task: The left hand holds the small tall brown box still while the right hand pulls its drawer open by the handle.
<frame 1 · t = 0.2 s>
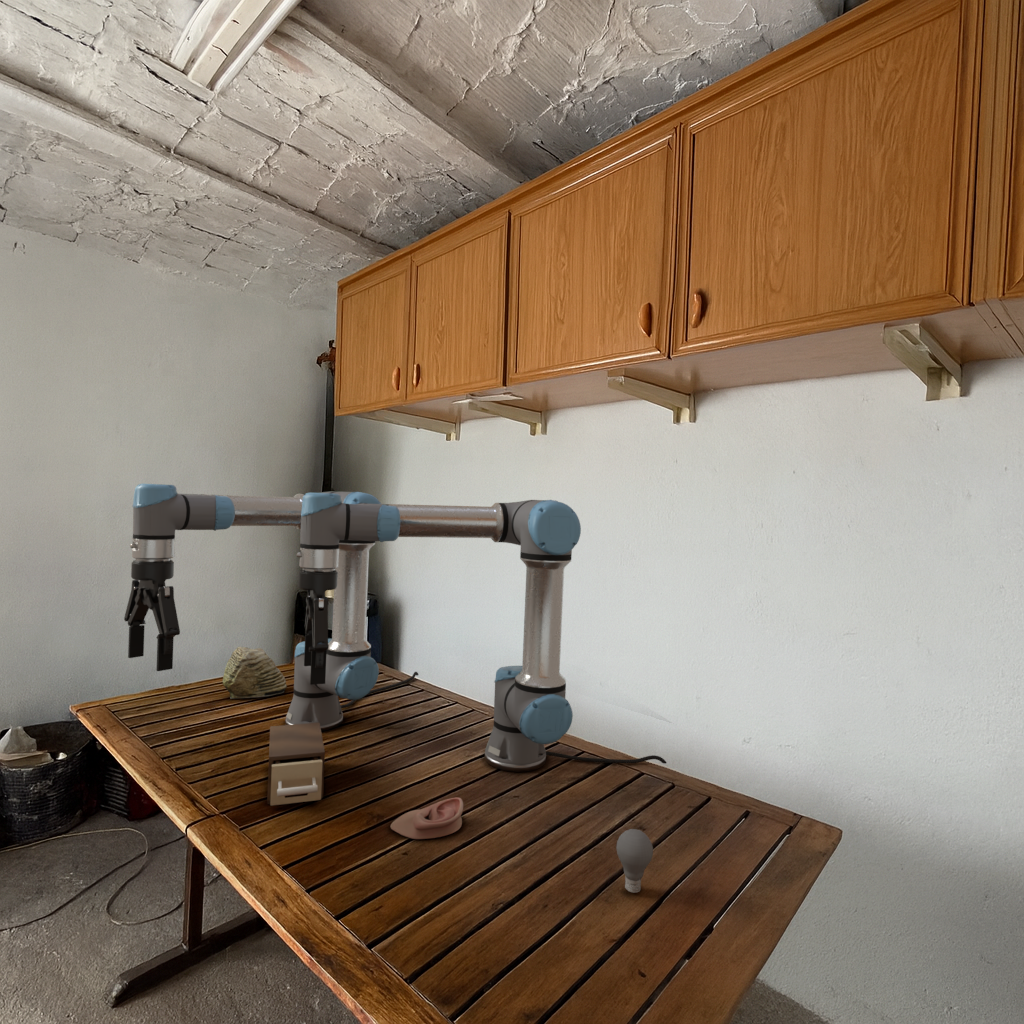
left hand: (149, 663, 129), 28 cm above the table, tool pointing down, fingers open, 13 cm apart
right hand: (314, 674, 128), 28 cm above the table, tool pointing down, fingers open, 13 cm apart
fossil: (254, 694, 198), on the table
drawer: (296, 771, 134), point 5 cm above the table, slide at 1.5 cm
light bulb: (632, 891, 106), on the table
anatomical model: (427, 825, 124), on the table
tall brown box: (294, 782, 140), on the table
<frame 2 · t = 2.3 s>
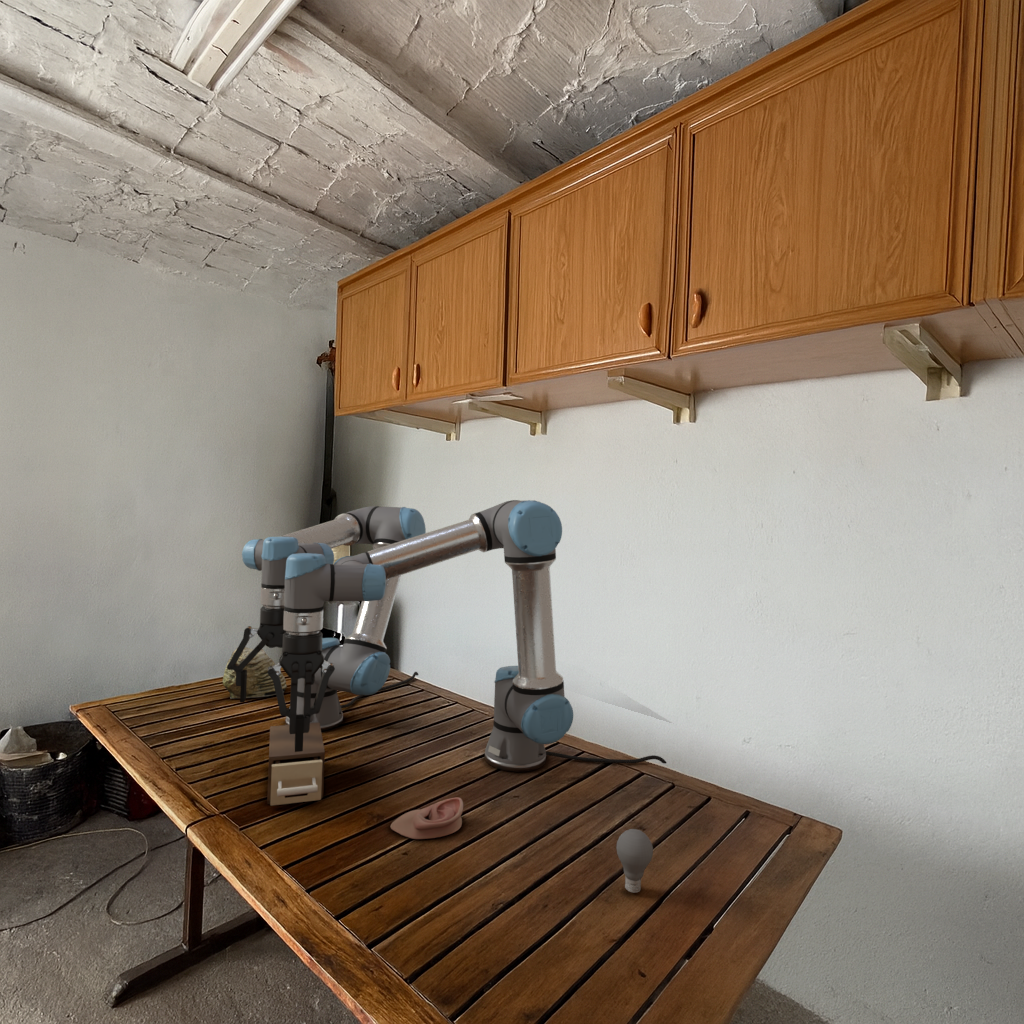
left hand: (275, 699, 143), 17 cm above the table, tool pointing down, fingers open, 13 cm apart
right hand: (298, 748, 126), 13 cm above the table, tool pointing down, fingers closed
nothing on the table moved.
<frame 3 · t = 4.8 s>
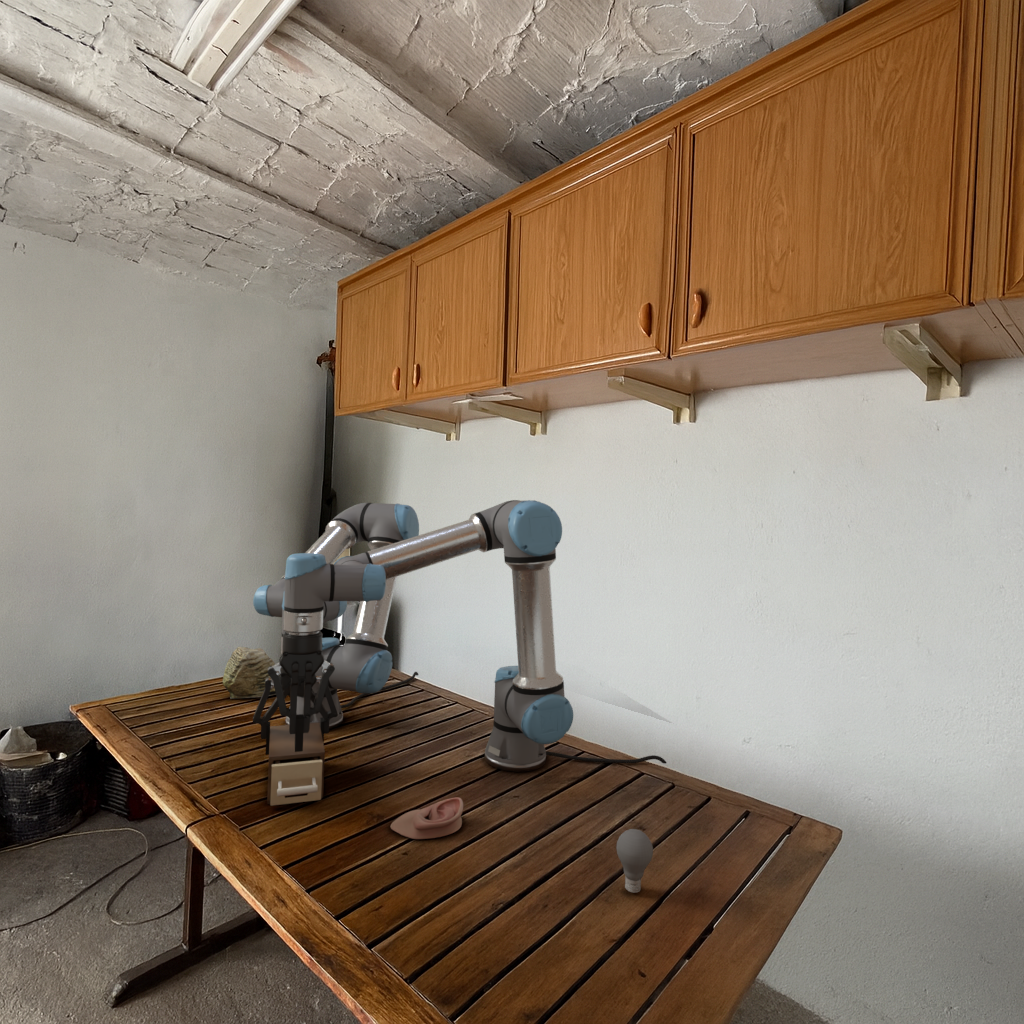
left hand: (294, 749, 145), 5 cm above the table, tool pointing down, fingers closed on tall brown box, 11 cm apart
right hand: (298, 748, 126), 13 cm above the table, tool pointing down, fingers closed
tall brown box: (294, 782, 140), on the table, touching left hand
everything else where it was.
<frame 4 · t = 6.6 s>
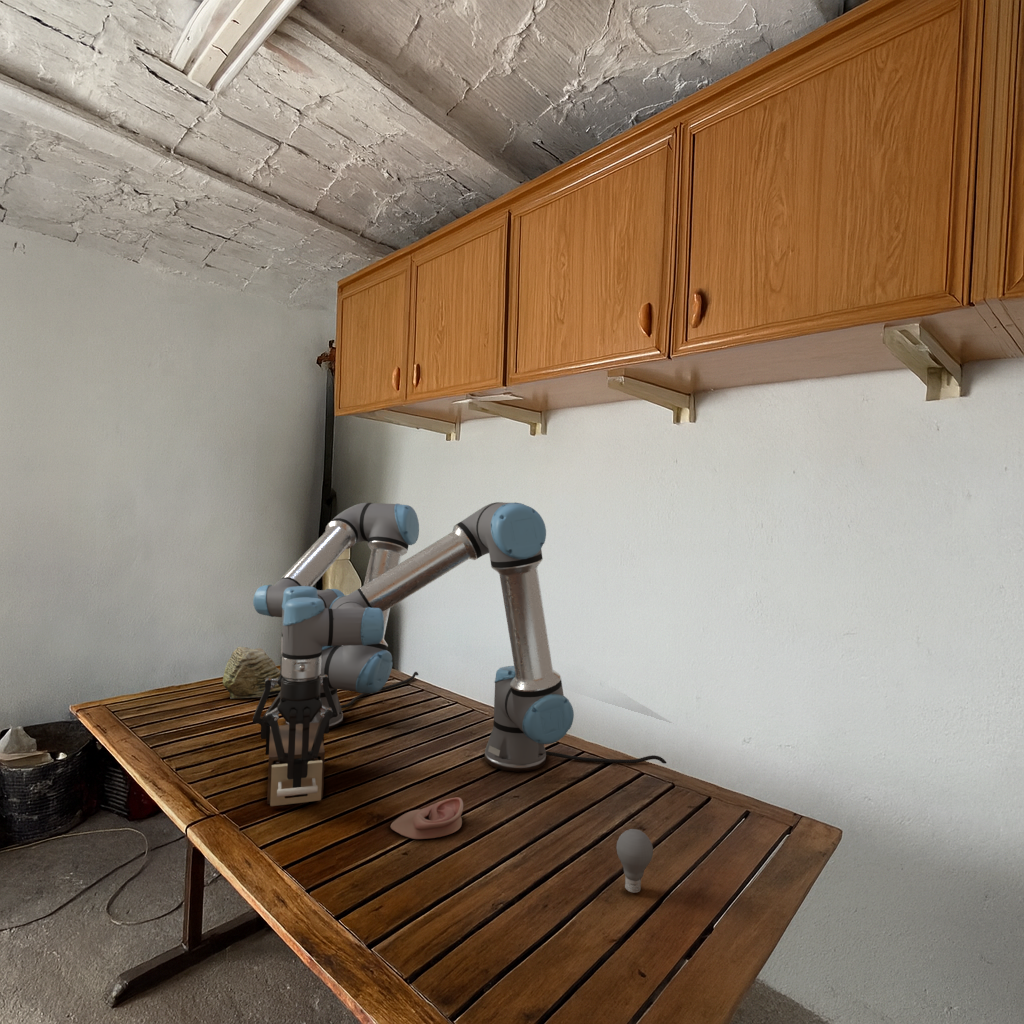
left hand: (294, 749, 145), 5 cm above the table, tool pointing down, fingers closed on tall brown box, 11 cm apart
right hand: (296, 793, 126), 4 cm above the table, tool pointing down, fingers closed
drawer: (296, 772, 134), point 5 cm above the table, slide at 1.7 cm, touching right hand
tall brown box: (294, 782, 140), on the table, touching left hand
everything else where it was.
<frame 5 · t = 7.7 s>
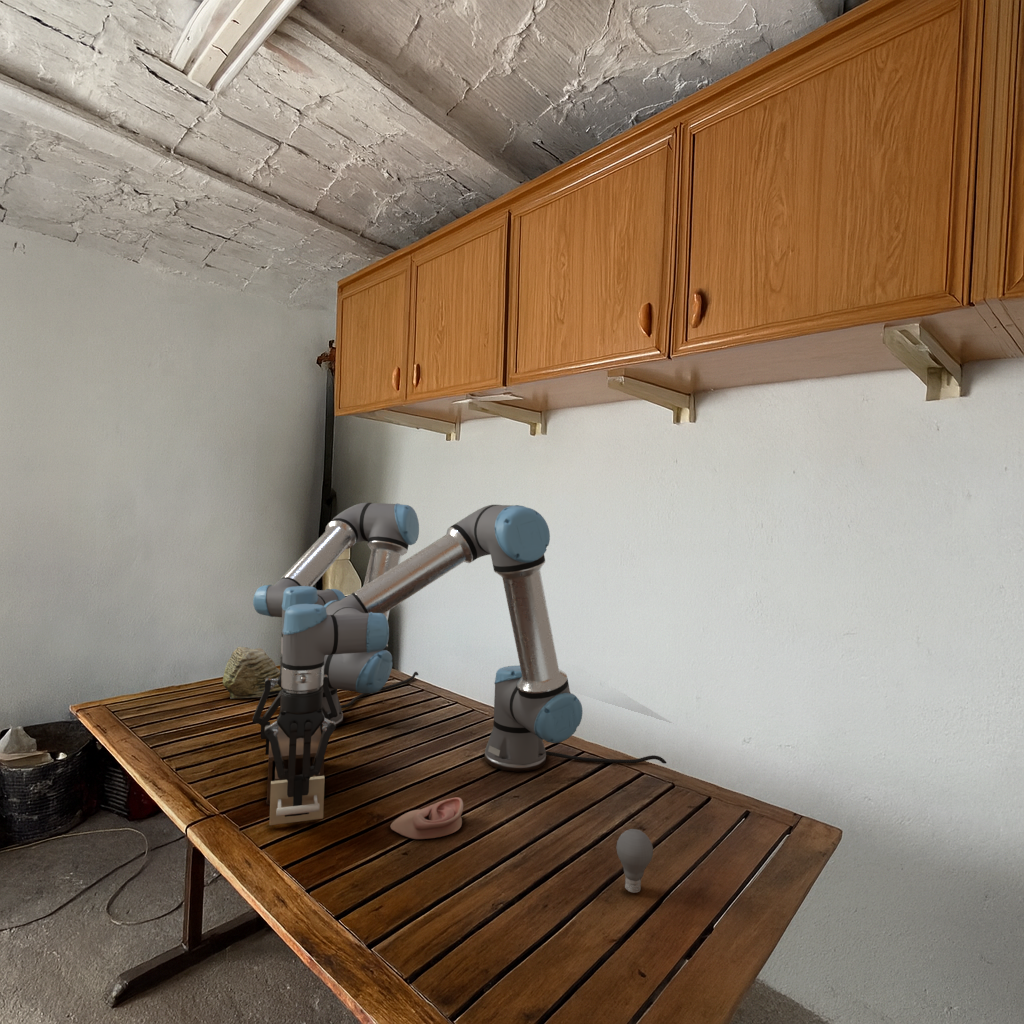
left hand: (294, 750, 145), 5 cm above the table, tool pointing down, fingers closed on tall brown box, 11 cm apart
right hand: (297, 811, 119), 4 cm above the table, tool pointing down, fingers closed
drawer: (296, 787, 127), point 5 cm above the table, slide at 9.2 cm, touching right hand
tall brown box: (294, 782, 140), on the table, touching left hand
everything else where it was.
when the left hand's fingers open (5 cm above the table, at t = 9.5 s): tall brown box stays where it is, on the table.
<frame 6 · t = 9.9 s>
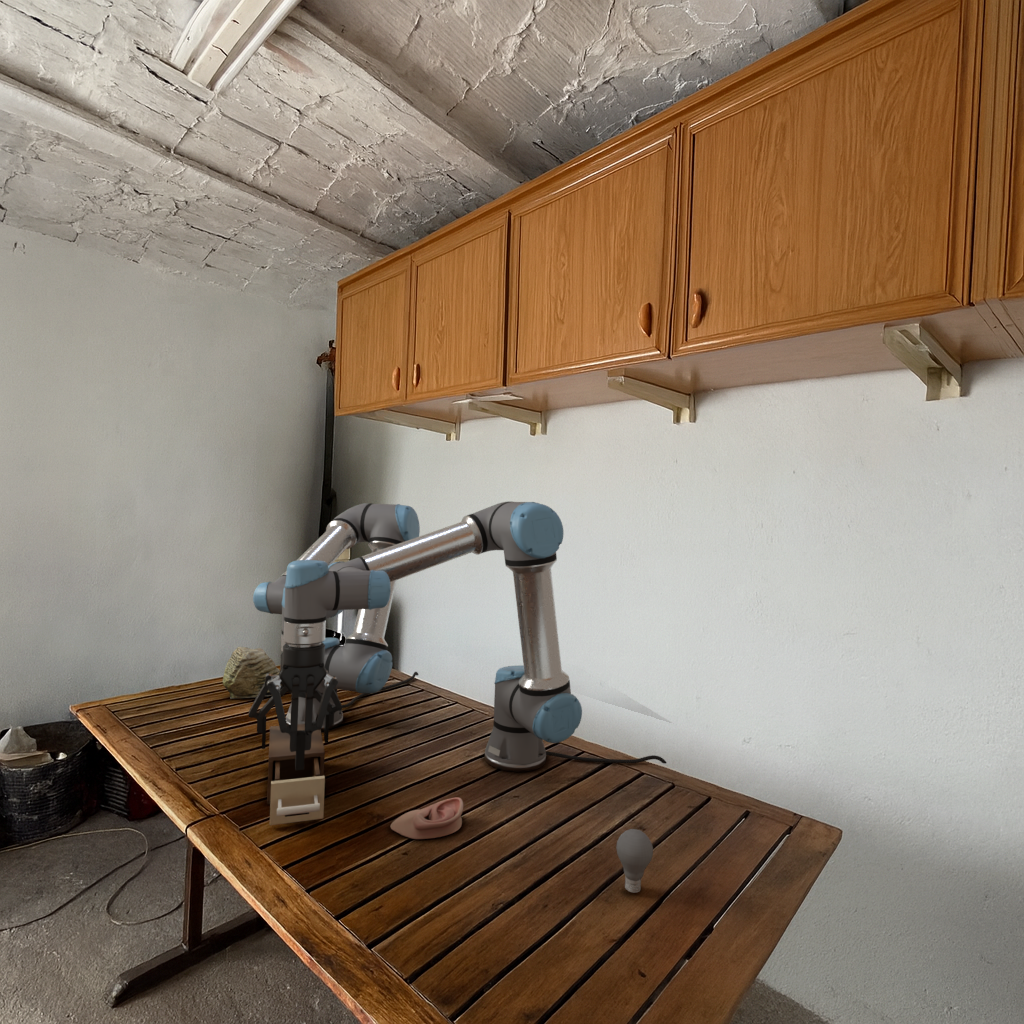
left hand: (295, 743, 146), 6 cm above the table, tool pointing down, fingers open, 13 cm apart
right hand: (299, 767, 119), 12 cm above the table, tool pointing down, fingers closed
drawer: (296, 788, 127), point 5 cm above the table, slide at 9.3 cm
tall brown box: (294, 782, 140), on the table
everything else where it was.
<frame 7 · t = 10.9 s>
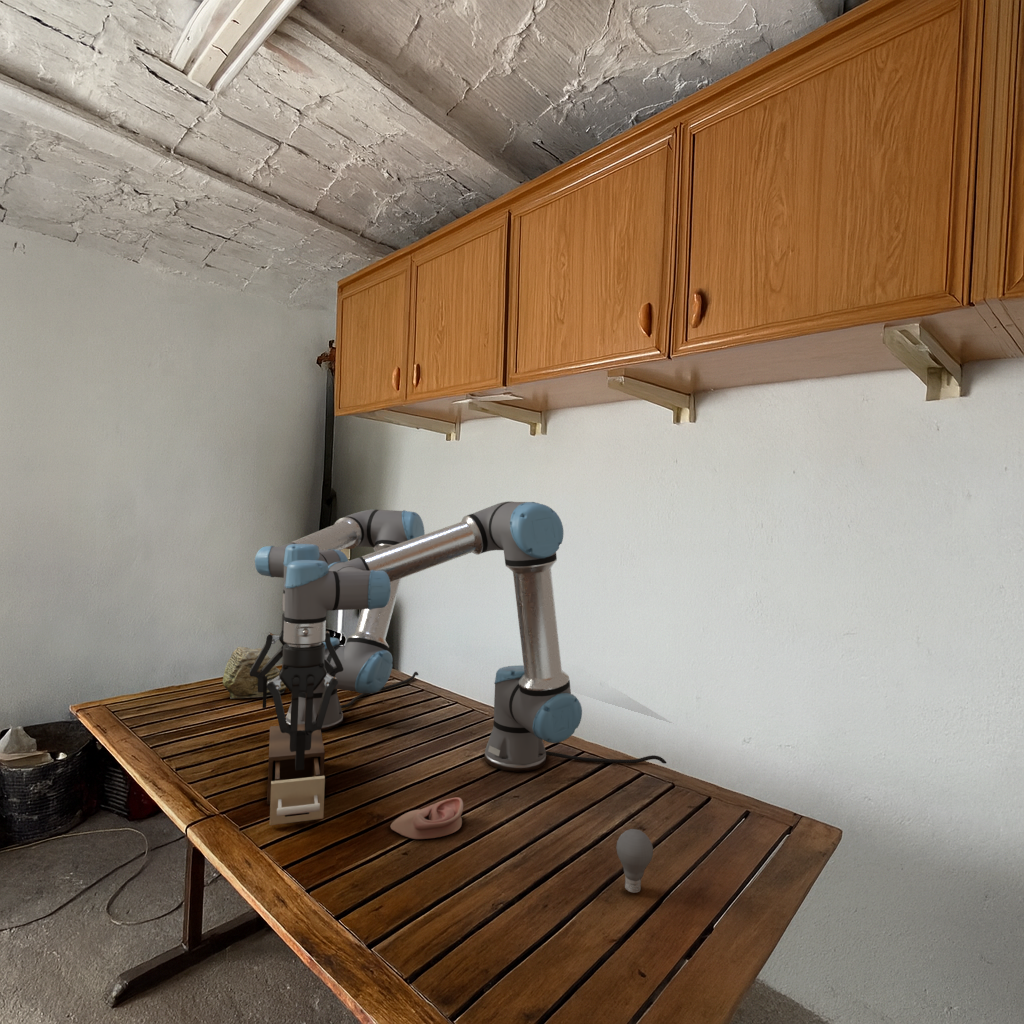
left hand: (296, 704, 145), 15 cm above the table, tool pointing down, fingers open, 13 cm apart
right hand: (299, 767, 119), 12 cm above the table, tool pointing down, fingers closed
nothing on the table moved.
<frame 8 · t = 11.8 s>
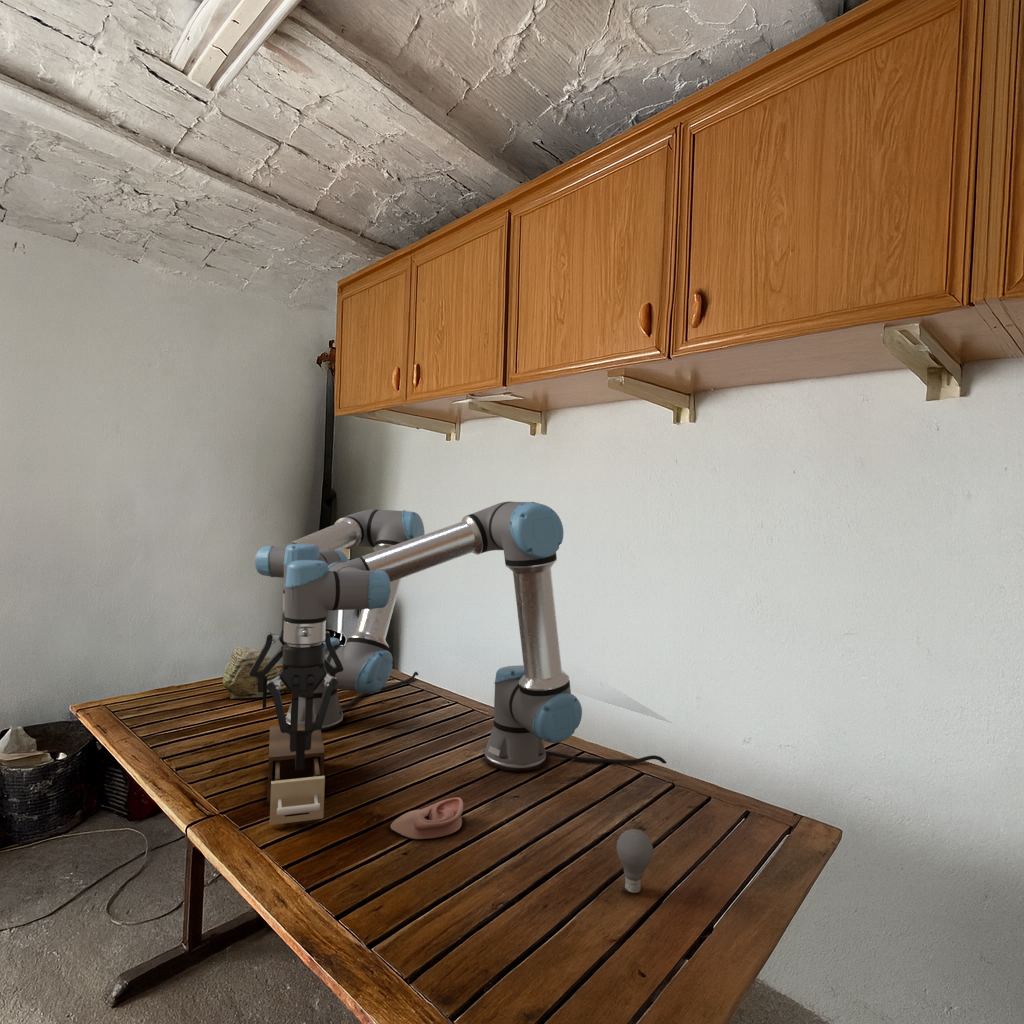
left hand: (296, 704, 145), 15 cm above the table, tool pointing down, fingers open, 13 cm apart
right hand: (299, 767, 119), 12 cm above the table, tool pointing down, fingers closed
nothing on the table moved.
at the end: drawer slide at 9.3 cm; tall brown box tilted 0°; tall brown box never tilted more than 1° during the clip; tall brown box moved 0.1 cm from its start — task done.
